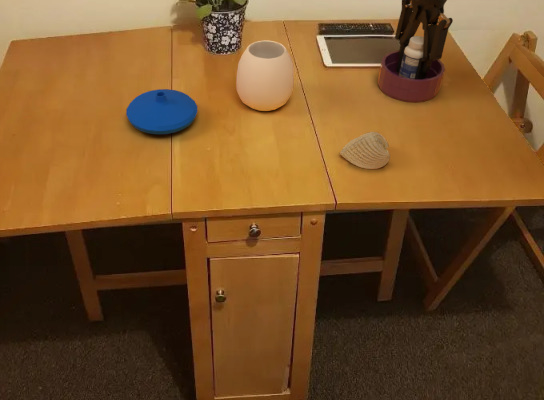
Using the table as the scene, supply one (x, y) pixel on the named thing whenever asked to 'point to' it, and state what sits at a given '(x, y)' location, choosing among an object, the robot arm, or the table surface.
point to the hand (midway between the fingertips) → (410, 76)
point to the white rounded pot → (265, 76)
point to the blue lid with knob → (161, 111)
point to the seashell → (367, 151)
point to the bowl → (409, 81)
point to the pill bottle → (412, 57)
